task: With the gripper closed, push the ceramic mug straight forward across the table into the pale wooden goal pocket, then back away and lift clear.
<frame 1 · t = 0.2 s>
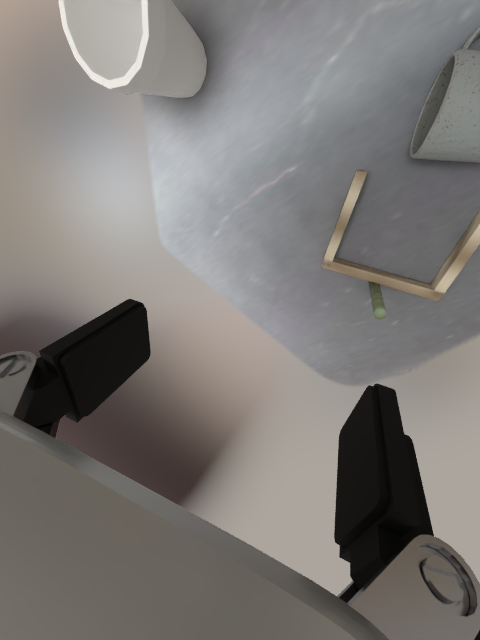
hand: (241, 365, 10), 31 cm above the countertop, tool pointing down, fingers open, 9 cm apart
ceramic mug: (466, 102, 25), on the countertop
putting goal: (398, 234, 32), on the countertop
foam cup: (185, 65, 32), on the countertop
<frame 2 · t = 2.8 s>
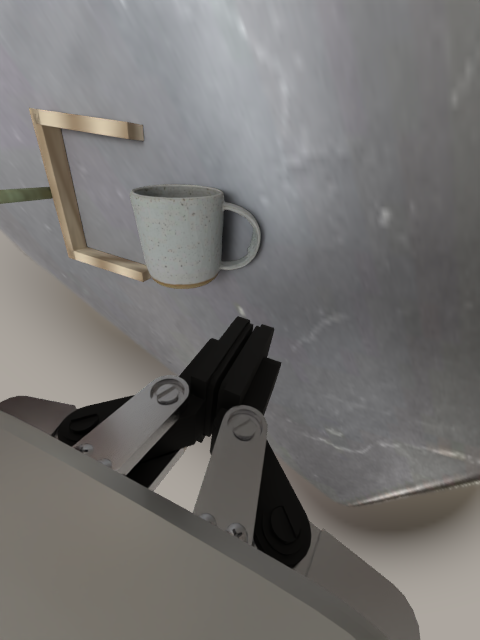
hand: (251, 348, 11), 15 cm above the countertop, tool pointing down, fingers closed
ceramic mug: (214, 227, 26), on the countertop
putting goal: (107, 202, 29), on the countertop
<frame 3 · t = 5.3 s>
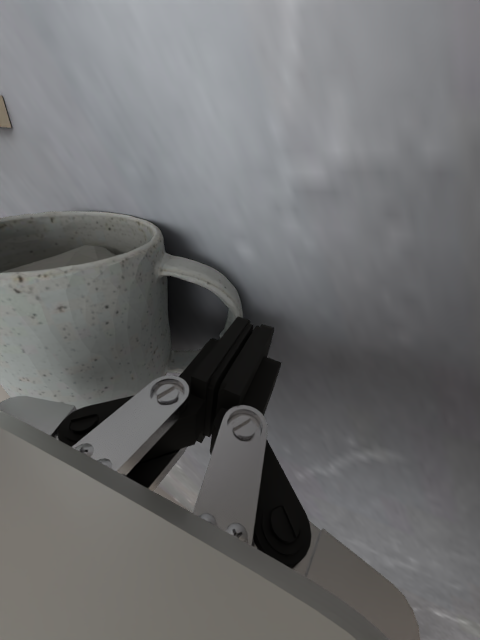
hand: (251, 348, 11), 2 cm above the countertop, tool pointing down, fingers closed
ceramic mug: (161, 286, 14), on the countertop, touching gripper
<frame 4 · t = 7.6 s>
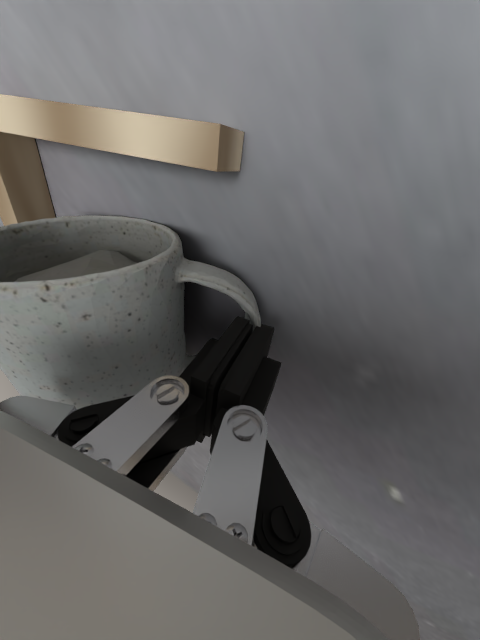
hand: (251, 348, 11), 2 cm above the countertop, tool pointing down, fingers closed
ceramic mug: (174, 290, 14), on the countertop, touching gripper
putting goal: (133, 283, 14), on the countertop
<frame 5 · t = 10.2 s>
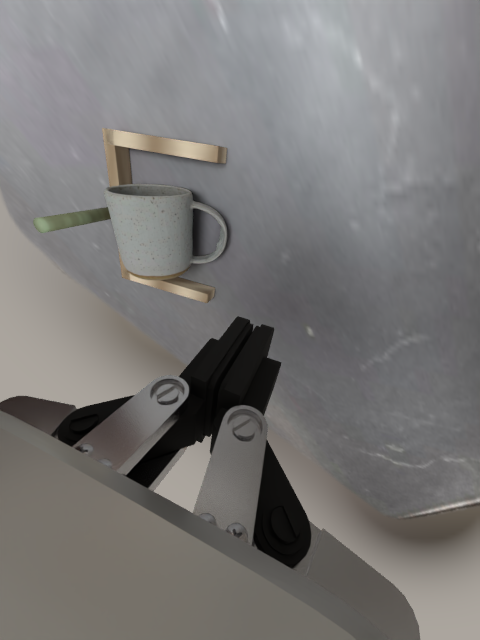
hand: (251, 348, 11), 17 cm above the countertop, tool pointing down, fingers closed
ceramic mug: (186, 224, 28), on the countertop
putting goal: (172, 222, 28), on the countertop
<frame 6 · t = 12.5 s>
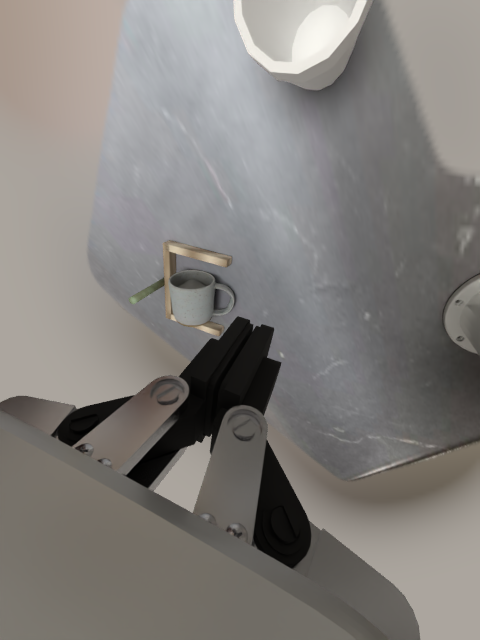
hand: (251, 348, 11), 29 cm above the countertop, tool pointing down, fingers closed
ceramic mug: (209, 290, 47), on the countertop
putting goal: (199, 288, 47), on the countertop
foam cup: (321, 51, 26), on the countertop
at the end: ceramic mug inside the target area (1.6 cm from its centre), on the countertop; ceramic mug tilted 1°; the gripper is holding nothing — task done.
